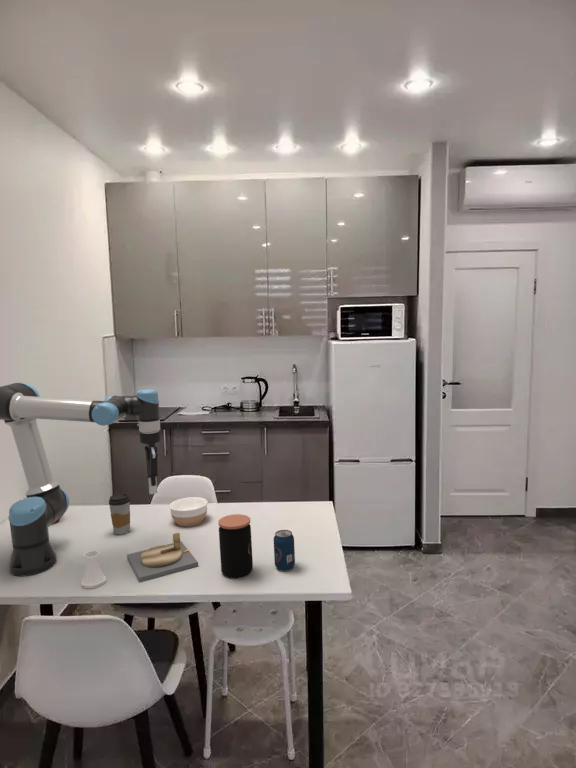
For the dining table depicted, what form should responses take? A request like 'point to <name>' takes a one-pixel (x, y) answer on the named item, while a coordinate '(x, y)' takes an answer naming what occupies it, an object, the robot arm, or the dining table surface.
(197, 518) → the bowl
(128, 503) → the coffee cup
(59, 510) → the robot arm
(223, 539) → the coffee jar
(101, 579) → the vase
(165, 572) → the dial base
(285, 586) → the dining table surface
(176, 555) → the dial
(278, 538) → the soda can
